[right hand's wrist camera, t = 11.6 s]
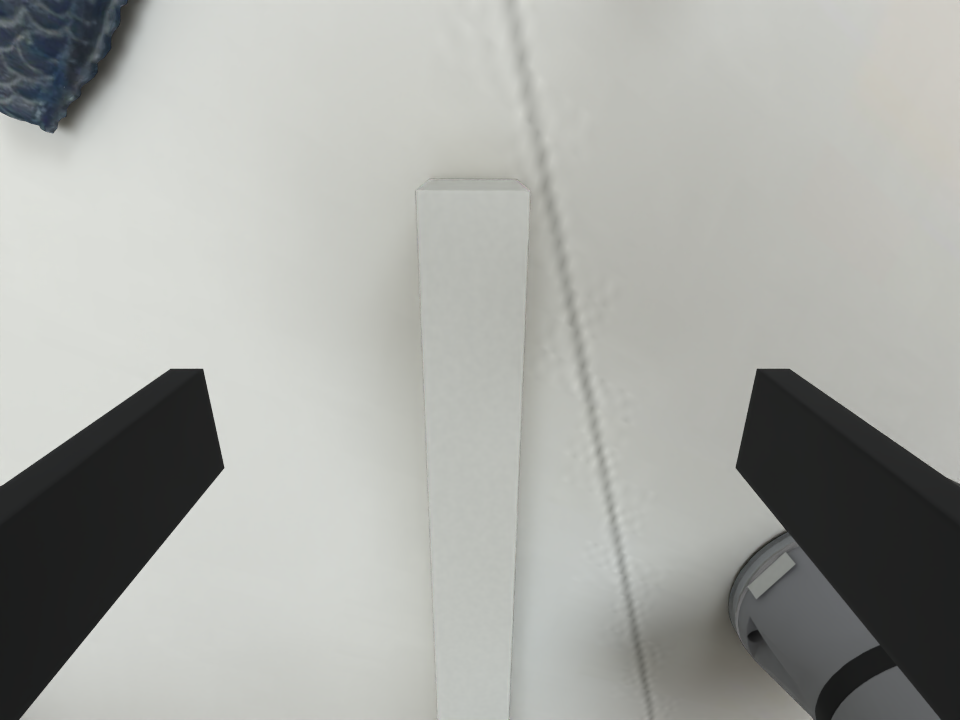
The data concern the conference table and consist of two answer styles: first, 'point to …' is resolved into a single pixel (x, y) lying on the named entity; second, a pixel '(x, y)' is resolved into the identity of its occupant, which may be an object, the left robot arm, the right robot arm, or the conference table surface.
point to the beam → (473, 428)
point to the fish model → (51, 54)
